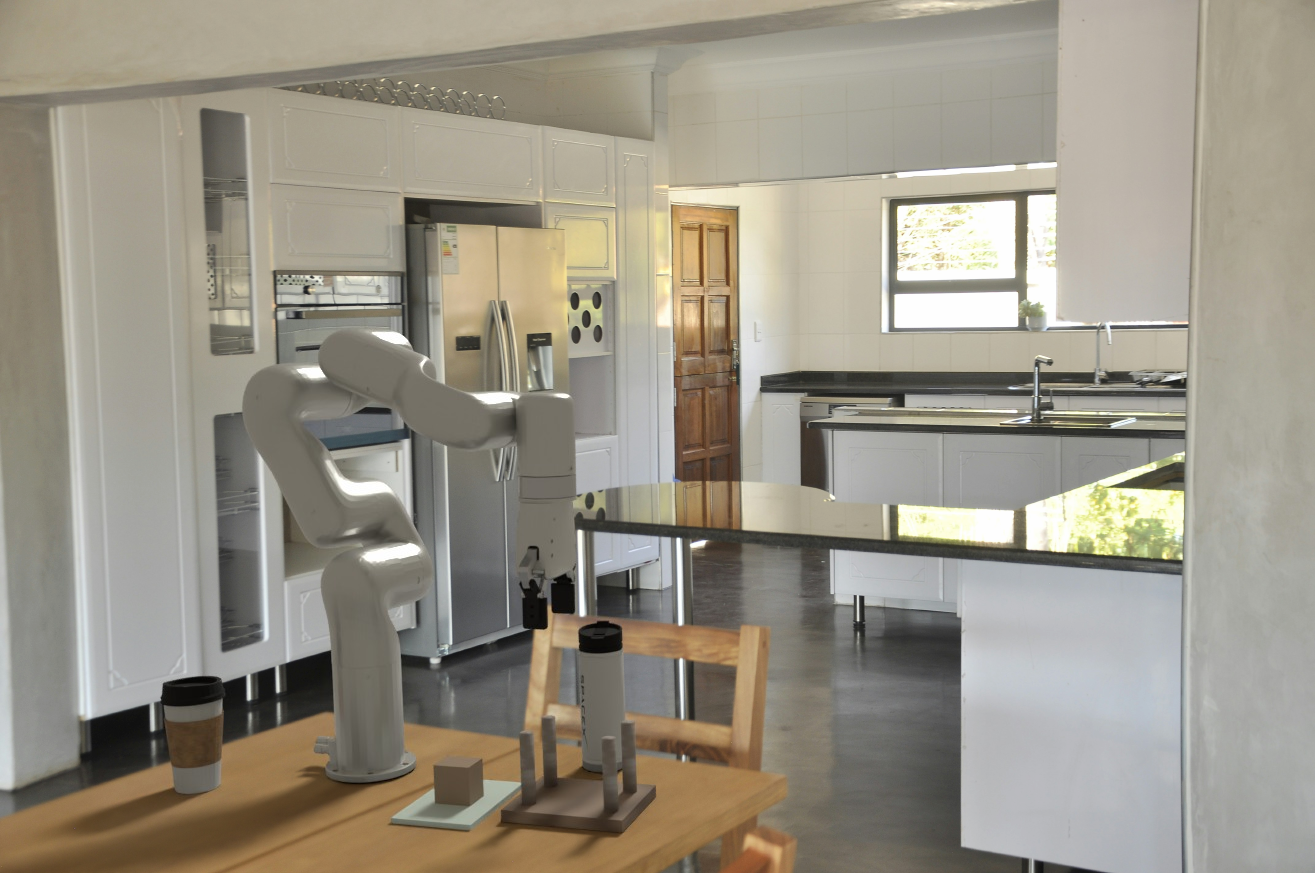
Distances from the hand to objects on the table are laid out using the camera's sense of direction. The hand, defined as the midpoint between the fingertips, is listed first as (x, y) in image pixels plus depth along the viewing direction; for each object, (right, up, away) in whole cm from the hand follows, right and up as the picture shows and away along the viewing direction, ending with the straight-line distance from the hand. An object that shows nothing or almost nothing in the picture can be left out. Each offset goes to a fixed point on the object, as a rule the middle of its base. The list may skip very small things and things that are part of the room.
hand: (549, 620), depth 161 cm
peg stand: (+4, -24, -3) cm, 24 cm away
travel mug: (+6, -23, +15) cm, 28 cm away
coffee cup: (-49, -25, +11) cm, 56 cm away
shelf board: (-12, -24, +1) cm, 27 cm away
